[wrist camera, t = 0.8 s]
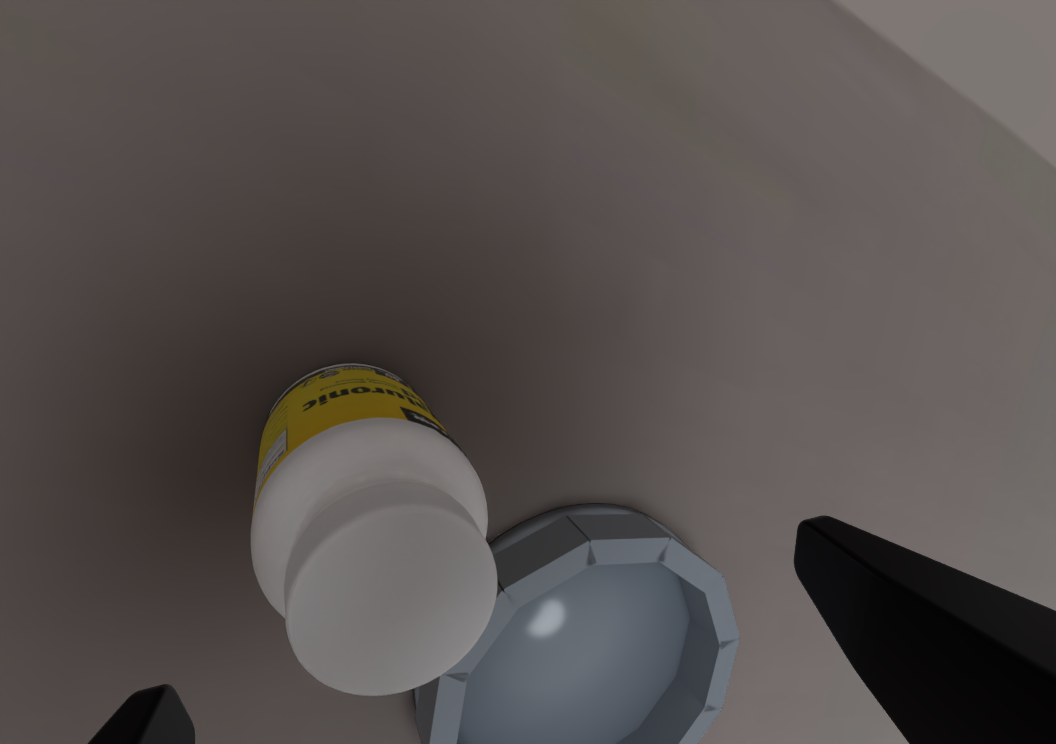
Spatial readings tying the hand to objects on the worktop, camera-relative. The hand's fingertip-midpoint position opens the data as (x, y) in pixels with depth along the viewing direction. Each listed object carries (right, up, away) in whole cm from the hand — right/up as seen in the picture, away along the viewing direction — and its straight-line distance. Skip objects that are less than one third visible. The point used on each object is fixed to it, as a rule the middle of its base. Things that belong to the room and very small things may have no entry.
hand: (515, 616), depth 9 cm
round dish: (+2, -8, +17) cm, 19 cm away
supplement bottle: (-6, +1, +12) cm, 13 cm away
